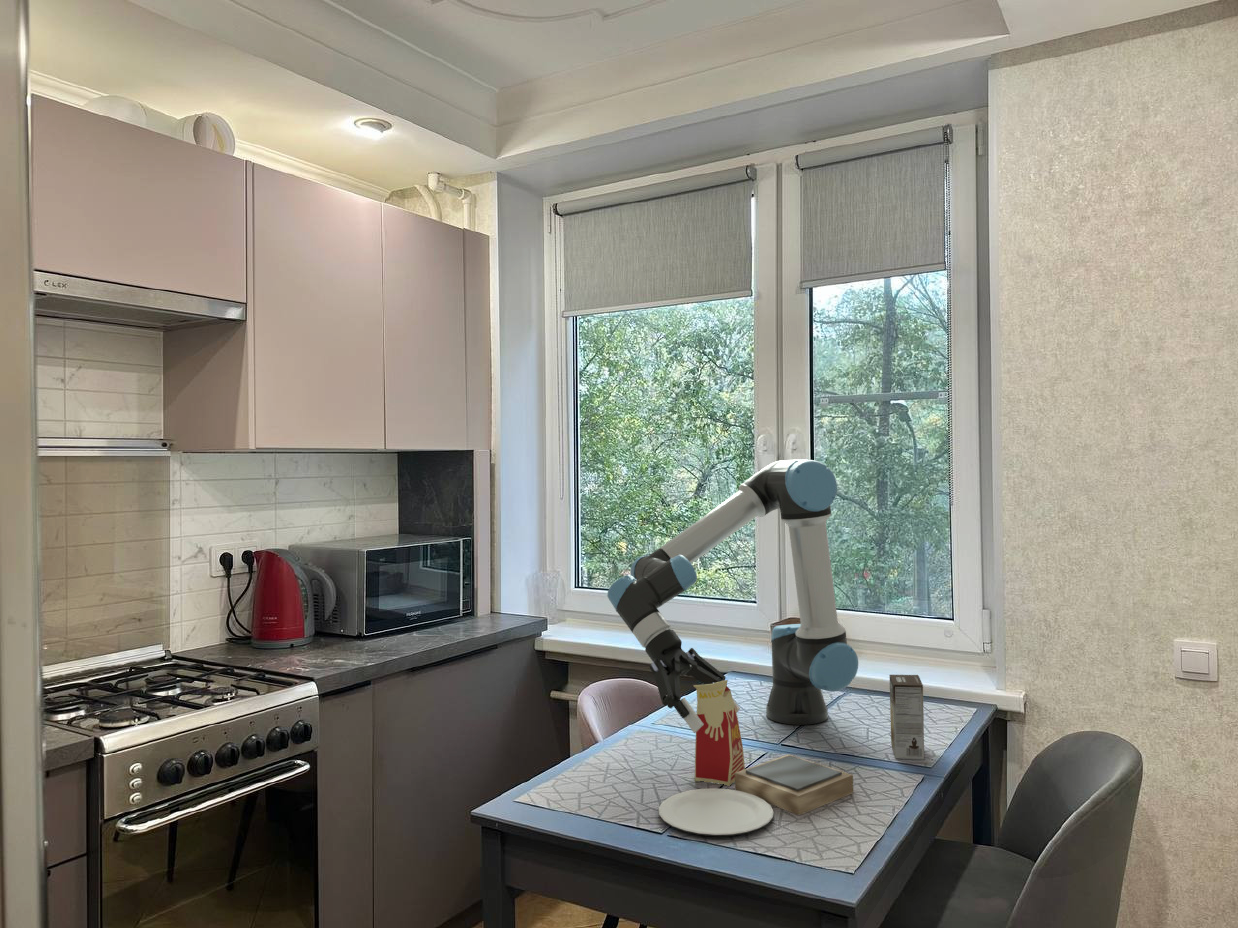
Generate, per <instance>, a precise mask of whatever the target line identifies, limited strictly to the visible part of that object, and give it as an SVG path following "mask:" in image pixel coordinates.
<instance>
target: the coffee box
mask: <svg viewBox="0 0 1238 928" xmlns="http://www.w3.org/2000/svg"><path fill="white" fill-rule="evenodd" d="M889 707H890V708H889V709H890V710H889V712H890V714H889V715H890V716H889V717H890V741H891V742H890V744H891V748H892V751H893V752H892V753H893V756H894V759H898V760H899V759H901V760H902V759H904V760H905V759H906V760H924V761H925V729H924V726H925V725H924V723H925V722H924V720H925V719H924V716H925V715H924V684H923V683H922V680H921V677H920V676H919V675H918V674H889Z"/></svg>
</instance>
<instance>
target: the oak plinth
mask: <svg viewBox="0 0 1238 928" xmlns="http://www.w3.org/2000/svg"><path fill="white" fill-rule="evenodd" d="M734 790H736V791H742V792H746V793H749V794H752V795H755V796H757V797H759V798H761V799H763V800H765V801H766V802H767V803H768V804H769V805H771V804H772V805H771V806H774V807H776V806H777V808H779V809H781V810H784V811H787V812H790V813H792V814H794V815H797V816H801V815H803V814H806V813H808V812H811V811H814V810H815V809H819V808H820V807H822V806H825V805H827V804H830V803H833V802H835V801H837V800H840V799H842V798H845V797H847V796H849V795H851V794H853V793H854V774H852V773H848V772H845V771H843V770H839V769H836V768H833V767H829V766H826V765H824V764H820V763H817V762H815V761H814V762H813V761H811V760H807V759H805V758H801V757H798V756H796V755H792V754H786V755H782V756H780V757H777V758H774V759H771V760H768V761H765V762H762V763H760V764H757V765H754V766H750V767H748V768H745V769H744V770H741V771H738V772H735V782H734Z"/></svg>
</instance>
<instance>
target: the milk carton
mask: <svg viewBox="0 0 1238 928" xmlns="http://www.w3.org/2000/svg"><path fill="white" fill-rule="evenodd" d="M692 685H693V687H694V688H695V689H696V700H697V701H696V714H697V716H698V717H699V718H700V720H701V721H702V723H703V724H704V725H703V726H702V727H701V728H700V729H699V730H698V731H697V732H696V733H695V745H694V746H695V747H694V748H695V749H694V781H695V782H700V781H704V782H703V783H709V782H713V783H712V784H715V783H719V784H718V785H720V784H724V785H723V786H725V785H727V787H731V786H732V785H733V784H735V772H738V771H741V770H744V769H746V768H745V767H746V766H745V755H744V747H743V745H744V744H743V741H742V739H743V738H742V734H741V730H740V729H741V728H740V723H739V719H738V715H737V713H738V712H737V713H736V710H735V706H734V702H733V699H734V698H733V695H732V691H731V690H732V689H730V688H729V686H727V685H728V679H725V680H724V681H720V682H716V683H713V684H704V683H703V684H692ZM732 783H733V784H732ZM731 784H732V785H731ZM730 785H731V786H730Z"/></svg>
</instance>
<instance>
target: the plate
mask: <svg viewBox="0 0 1238 928" xmlns="http://www.w3.org/2000/svg"><path fill="white" fill-rule="evenodd" d="M658 813H659V815H658V816H659V817H660V818H661V819H662V821H663V822H664V823H666V824H667V825H669V826H670V827H672V828H674V829H676V830H679V831H682V832H684V833H687V834H688V833H689V834H694V835H699V836H707V837H733V836H738V835H739V836H741V835H745V834H749V833H753V832H755V831H758V830H760V829H763V827H765V826H767V825H768V824H769V823H770V822H771V821H772V820H773V818H774V813H775V812H774V810H773V808H772V805H771V804H769V803H767V802H766V801H765V800H763V799H761V798H759V797H757V796H755V795H752V794H749V793H746V792H742V791H736V790H735V789H728V788H718V787H717V788H715V787H713V788H698V789H690V790H686V791H682V792H679V793H676V794H673V795H672V796H669V797H667V798H666V799H665V800H663V802H661V804H660V805H659V808H658Z"/></svg>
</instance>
